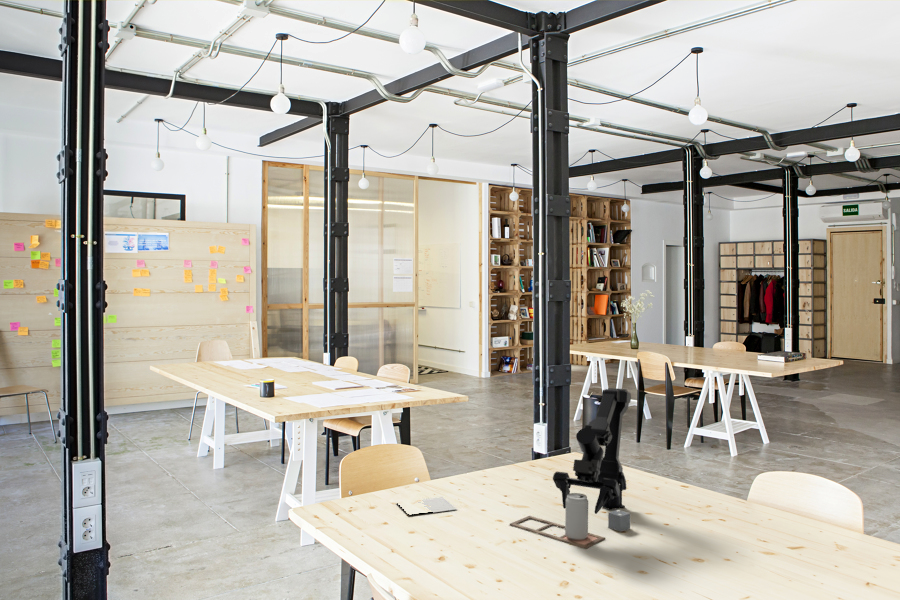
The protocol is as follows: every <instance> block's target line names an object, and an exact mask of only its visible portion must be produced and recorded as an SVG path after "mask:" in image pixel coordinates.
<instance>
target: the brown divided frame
mask: <svg viewBox="0 0 900 600" xmlns="http://www.w3.org/2000/svg"><path fill="white" fill-rule="evenodd" d="M528 519H529V520H533V519H534V521H536V520H537V521H536V522H539V521H540V522H541V523H544V524H546V523H547V524H546V525H544V526H543V525H542V527H539V528H537V529H534V528H531V527H526V526H524V525H521V523H524V522H526V521H529V520H528ZM523 521H524V522H523ZM518 523H519V524H518ZM553 525H555V526H554V527H556V526H558V527H557V528H560V527H561V529H563V528H565V525H563V524H560V523H559V524H558V523H557V522H556V523H555V522H554V521H553V522H552V521H550V520H546V519H543V518H539V517H535V516H532V515H528V516H526V517H523V518H520V519H518V520H516V521H512V522H510V523H509V526H511V527H514V526H515V528H517V527H518V529H520V530H524V531H527V532H531V533H534V534H537V535H541V536H543V537H547V538H550V539H553V540H557V541H560V542H561V543H562V542H563V543H565V544H569V545H572V546H575V547H579V548H582V549H589V548H591V547H593V546H594V545H596V544H598V543H600V542H602V541H604V540H606V537H604V536H600V535H597V534H593V533H590V532H588V537H587V538H585V539H584V540H579V541H578V540H572V539H569V538H568V537H567V536H566V534H563V535H561V536H556V535H553V534H550V533H546V532H543V531H544V530H545V529H548V528H550V527H553ZM549 526H550V527H549ZM547 527H548V528H547Z"/></svg>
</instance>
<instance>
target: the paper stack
mask: <svg viewBox="0 0 900 600" xmlns="http://www.w3.org/2000/svg"><path fill="white" fill-rule="evenodd" d="M422 501H423V502H424V503H422V504H424V505H428V506H424V507H427V508H428V509H429V510H431V511H432V512H433V513H438V512H440V513H441V512H446V511H454V510H455V511H456V510H458V508H457V507H456V506H454V505H453V504H452V503H450V502H449V501H448V500H447V499H446V498H444V497H443V496H438V497H430V498H429V497H428V498H423V500H422ZM418 503H421V502H418ZM429 506H431V507H429Z"/></svg>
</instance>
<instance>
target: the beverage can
mask: <svg viewBox="0 0 900 600" xmlns="http://www.w3.org/2000/svg"><path fill="white" fill-rule="evenodd" d="M564 519H565V521H564V522H565V524H564V526H565V529H564V531H565V534H566V536H567V537H568V538H569V539H572V540H578V541H579V540H584V539H585V538H587V537H588V533H589V500H588V495H586V494H584V493H580V492H579V493H577V492H573V493H572V492H571V493H570V494H568V495H567V498H566V508H565V518H564ZM565 534H564V535H565Z"/></svg>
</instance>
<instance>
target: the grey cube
mask: <svg viewBox="0 0 900 600" xmlns="http://www.w3.org/2000/svg"><path fill="white" fill-rule="evenodd" d="M607 516H608V517H607V518H608V519H607V521H608V523H607V525H608V527H607V528H609V529H612V530H615V531H617V532H620V533H621V532H623V531H624V532H625V531H627V530H630V529H631V512H627V511H624V510H620V509H614V510H611V511H610V512H608V513H607Z"/></svg>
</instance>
